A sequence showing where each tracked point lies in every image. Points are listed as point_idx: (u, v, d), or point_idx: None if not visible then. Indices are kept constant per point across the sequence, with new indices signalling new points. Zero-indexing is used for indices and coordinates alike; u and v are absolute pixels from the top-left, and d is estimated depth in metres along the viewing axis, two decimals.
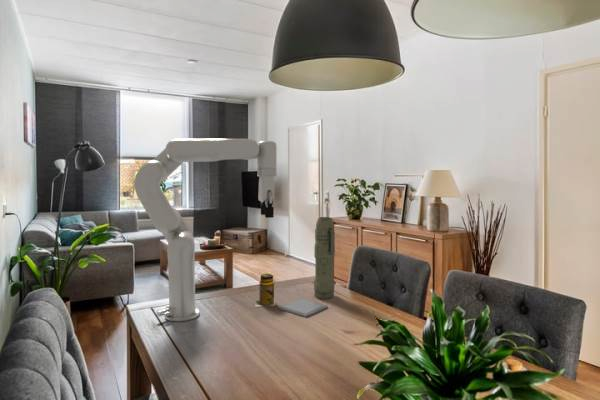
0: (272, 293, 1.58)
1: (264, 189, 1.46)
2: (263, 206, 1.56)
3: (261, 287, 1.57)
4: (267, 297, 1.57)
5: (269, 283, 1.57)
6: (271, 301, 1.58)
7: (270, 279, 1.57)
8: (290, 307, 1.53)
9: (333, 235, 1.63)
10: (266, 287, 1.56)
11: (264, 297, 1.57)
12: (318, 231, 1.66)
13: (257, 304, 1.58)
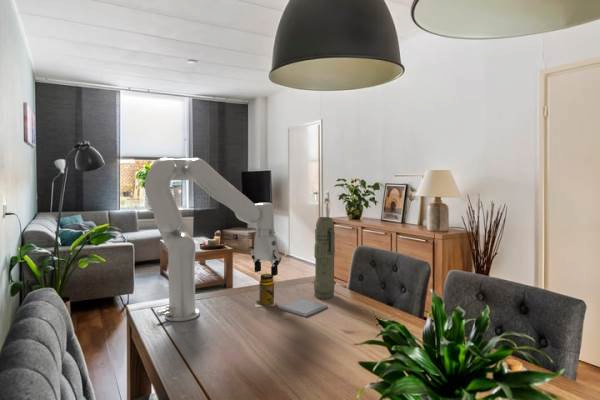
0: (272, 293, 1.58)
1: None
2: None
3: (261, 287, 1.57)
4: (267, 297, 1.57)
5: (269, 283, 1.57)
6: (271, 301, 1.58)
7: (270, 279, 1.57)
8: (290, 307, 1.53)
9: (333, 235, 1.63)
10: (266, 287, 1.56)
11: (264, 297, 1.57)
12: (318, 231, 1.66)
13: (257, 304, 1.58)
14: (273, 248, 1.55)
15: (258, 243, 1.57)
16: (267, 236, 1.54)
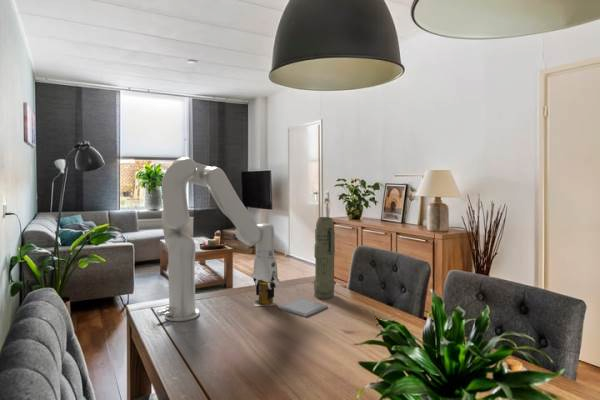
0: None
1: None
2: None
3: (260, 287, 1.58)
4: (267, 296, 1.57)
5: None
6: (270, 300, 1.58)
7: None
8: (290, 307, 1.53)
9: (333, 235, 1.63)
10: (265, 286, 1.57)
11: (263, 297, 1.57)
12: (318, 231, 1.66)
13: (256, 304, 1.59)
14: (273, 269, 1.55)
15: (258, 264, 1.58)
16: (267, 257, 1.55)
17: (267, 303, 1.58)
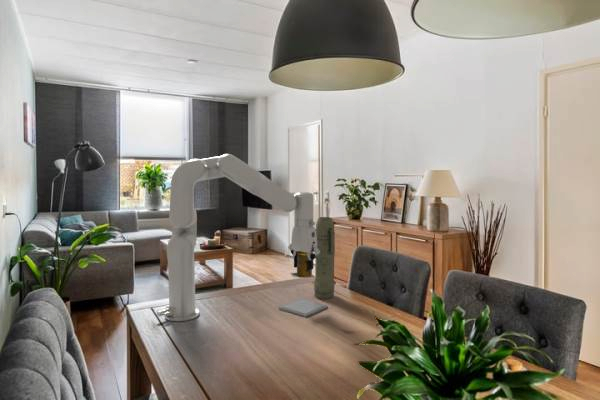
0: None
1: None
2: None
3: (299, 258, 1.51)
4: (306, 268, 1.51)
5: None
6: (309, 272, 1.52)
7: None
8: (290, 307, 1.53)
9: (333, 235, 1.63)
10: (304, 257, 1.50)
11: (302, 268, 1.51)
12: (318, 231, 1.66)
13: (295, 276, 1.52)
14: (313, 239, 1.49)
15: (297, 234, 1.51)
16: (307, 227, 1.48)
17: (306, 275, 1.51)
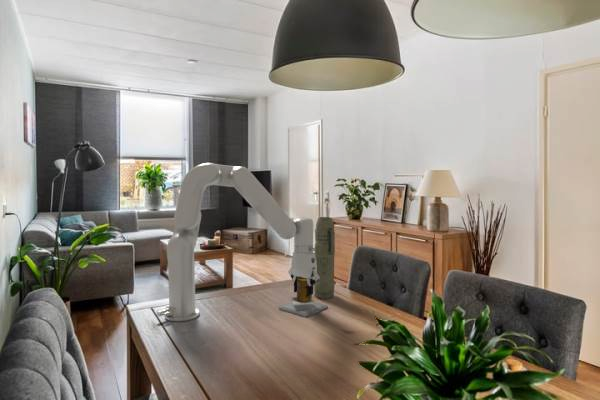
0: None
1: None
2: None
3: (299, 283, 1.52)
4: (306, 293, 1.51)
5: None
6: (309, 298, 1.52)
7: None
8: (290, 307, 1.53)
9: (333, 235, 1.63)
10: (304, 283, 1.51)
11: (302, 293, 1.51)
12: (318, 231, 1.66)
13: (295, 301, 1.53)
14: (312, 265, 1.50)
15: (297, 260, 1.52)
16: (307, 253, 1.49)
17: (306, 300, 1.52)
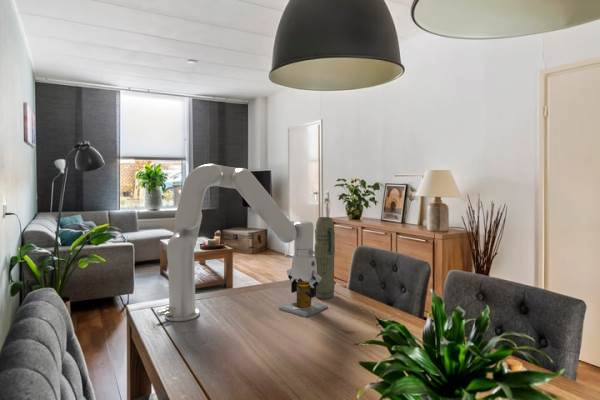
0: None
1: None
2: None
3: (299, 289, 1.52)
4: (305, 299, 1.51)
5: (307, 285, 1.51)
6: (309, 303, 1.52)
7: None
8: (290, 307, 1.53)
9: (333, 235, 1.63)
10: (304, 288, 1.51)
11: (302, 299, 1.51)
12: (318, 231, 1.66)
13: (294, 306, 1.53)
14: (312, 269, 1.50)
15: (297, 263, 1.52)
16: (307, 256, 1.49)
17: (306, 306, 1.52)
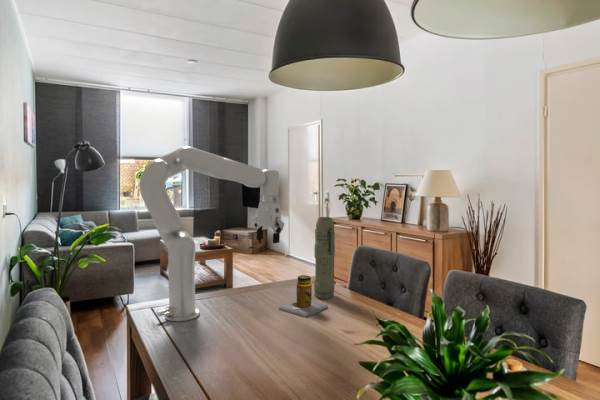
0: (310, 295, 1.53)
1: None
2: None
3: (299, 289, 1.52)
4: (305, 299, 1.51)
5: (307, 285, 1.51)
6: (309, 303, 1.52)
7: (308, 280, 1.52)
8: (290, 307, 1.53)
9: (333, 235, 1.63)
10: (304, 288, 1.51)
11: (302, 299, 1.51)
12: (318, 231, 1.66)
13: (294, 306, 1.53)
14: (276, 215, 1.54)
15: (262, 210, 1.56)
16: (271, 202, 1.54)
17: (306, 306, 1.52)
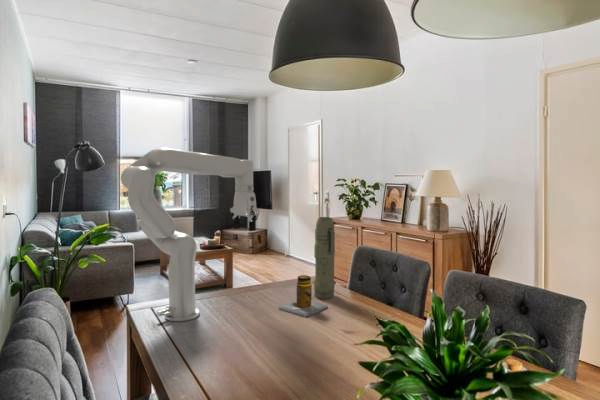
0: (310, 295, 1.53)
1: None
2: None
3: (299, 289, 1.52)
4: (305, 299, 1.51)
5: (307, 285, 1.51)
6: (309, 303, 1.52)
7: (308, 280, 1.52)
8: (290, 307, 1.53)
9: (333, 235, 1.63)
10: (304, 288, 1.51)
11: (302, 299, 1.51)
12: (318, 231, 1.66)
13: (294, 306, 1.53)
14: (251, 204, 1.58)
15: (237, 199, 1.61)
16: (246, 192, 1.58)
17: (306, 306, 1.52)
